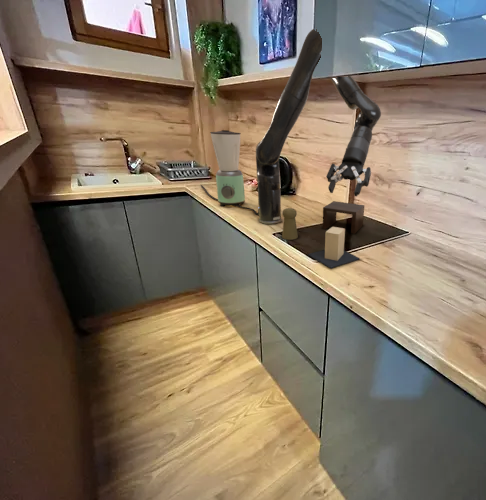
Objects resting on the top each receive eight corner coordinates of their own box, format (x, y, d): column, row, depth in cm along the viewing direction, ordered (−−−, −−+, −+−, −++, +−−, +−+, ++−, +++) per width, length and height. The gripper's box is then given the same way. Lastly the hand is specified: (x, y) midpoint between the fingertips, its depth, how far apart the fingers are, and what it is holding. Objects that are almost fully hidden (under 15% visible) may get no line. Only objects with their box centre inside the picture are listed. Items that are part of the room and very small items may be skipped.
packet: (324, 258, 98) (325, 232, 94) (331, 251, 103) (332, 226, 99) (337, 260, 96) (338, 234, 93) (343, 254, 101) (345, 228, 98)
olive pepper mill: (295, 240, 112) (294, 211, 108) (279, 238, 113) (278, 210, 109) (299, 235, 118) (299, 207, 113) (285, 233, 119) (284, 205, 114)
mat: (308, 255, 100) (308, 254, 100) (336, 247, 107) (336, 246, 107) (330, 269, 92) (330, 267, 92) (359, 259, 99) (359, 258, 99)
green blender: (242, 208, 148) (236, 131, 134) (214, 208, 146) (205, 130, 133) (248, 199, 165) (243, 130, 151) (223, 198, 164) (216, 129, 150)
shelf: (332, 220, 136) (333, 201, 133) (362, 225, 132) (364, 205, 128) (322, 228, 126) (323, 207, 122) (354, 233, 121) (356, 212, 118)
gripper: (377, 163, 105) (365, 202, 100) (338, 159, 110) (325, 196, 104) (375, 147, 98) (362, 189, 93) (334, 144, 103) (319, 183, 97)
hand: (342, 193), depth 99 cm, fingers open, 8 cm apart
